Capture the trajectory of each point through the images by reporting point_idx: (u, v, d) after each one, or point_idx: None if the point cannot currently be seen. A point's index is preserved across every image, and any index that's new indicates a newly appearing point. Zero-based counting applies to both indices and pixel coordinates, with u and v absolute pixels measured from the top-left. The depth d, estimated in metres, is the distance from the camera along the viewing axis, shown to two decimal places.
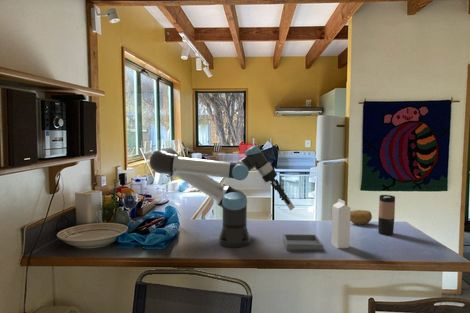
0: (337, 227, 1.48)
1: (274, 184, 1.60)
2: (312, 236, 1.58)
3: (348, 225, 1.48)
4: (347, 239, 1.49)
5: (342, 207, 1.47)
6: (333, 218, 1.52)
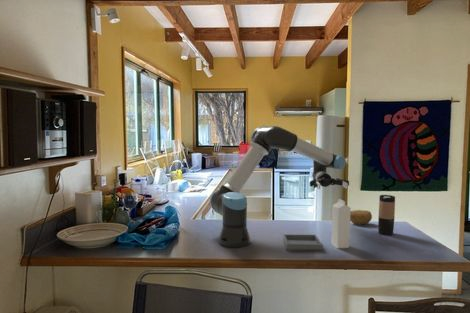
0: (337, 227, 1.48)
1: None
2: (312, 236, 1.58)
3: (348, 225, 1.48)
4: (347, 239, 1.49)
5: (342, 207, 1.47)
6: (333, 218, 1.52)
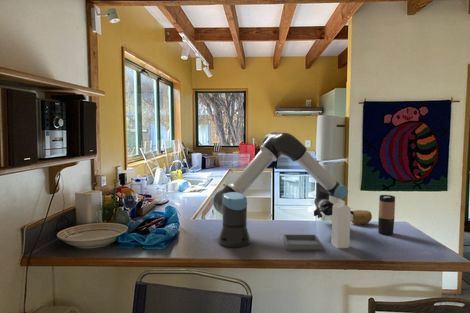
0: (337, 227, 1.48)
1: None
2: (312, 236, 1.58)
3: (348, 225, 1.48)
4: (347, 239, 1.49)
5: (342, 207, 1.47)
6: (333, 218, 1.52)
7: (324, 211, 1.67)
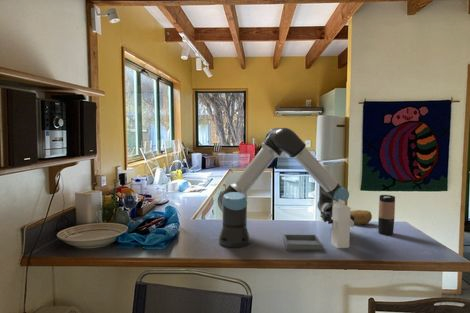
0: (337, 227, 1.48)
1: None
2: (312, 236, 1.58)
3: (348, 225, 1.48)
4: (347, 239, 1.49)
5: (342, 207, 1.47)
6: None
7: (331, 216, 1.57)
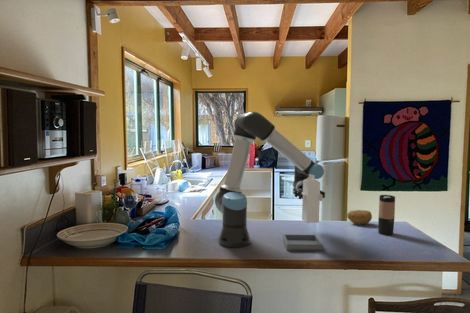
0: (306, 202, 1.48)
1: None
2: (312, 236, 1.58)
3: (318, 199, 1.48)
4: (317, 214, 1.48)
5: (312, 181, 1.47)
6: None
7: None
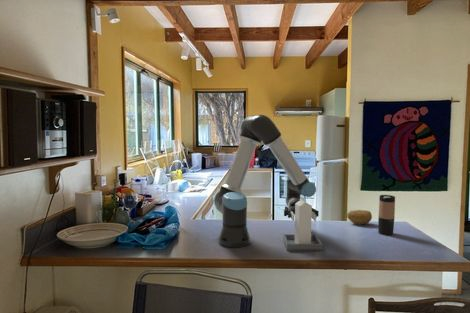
0: (298, 225, 1.49)
1: None
2: (312, 236, 1.58)
3: (309, 223, 1.49)
4: (308, 237, 1.49)
5: (303, 205, 1.48)
6: (295, 216, 1.52)
7: (293, 210, 1.58)
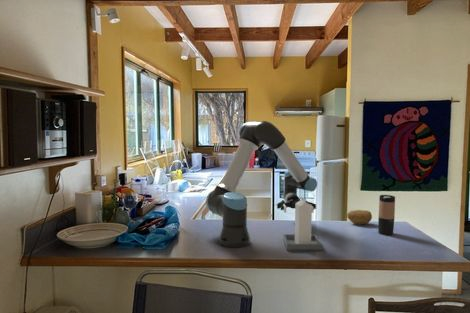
0: (298, 225, 1.49)
1: None
2: (312, 236, 1.58)
3: (309, 223, 1.48)
4: (309, 237, 1.49)
5: (303, 205, 1.48)
6: (295, 216, 1.52)
7: (288, 204, 1.72)
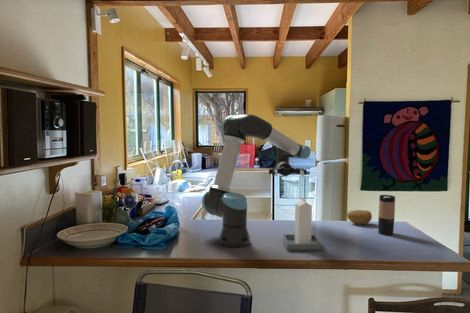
0: (298, 225, 1.49)
1: None
2: (312, 236, 1.58)
3: (309, 223, 1.48)
4: (309, 237, 1.49)
5: (303, 205, 1.48)
6: (295, 216, 1.52)
7: (279, 170, 1.76)
